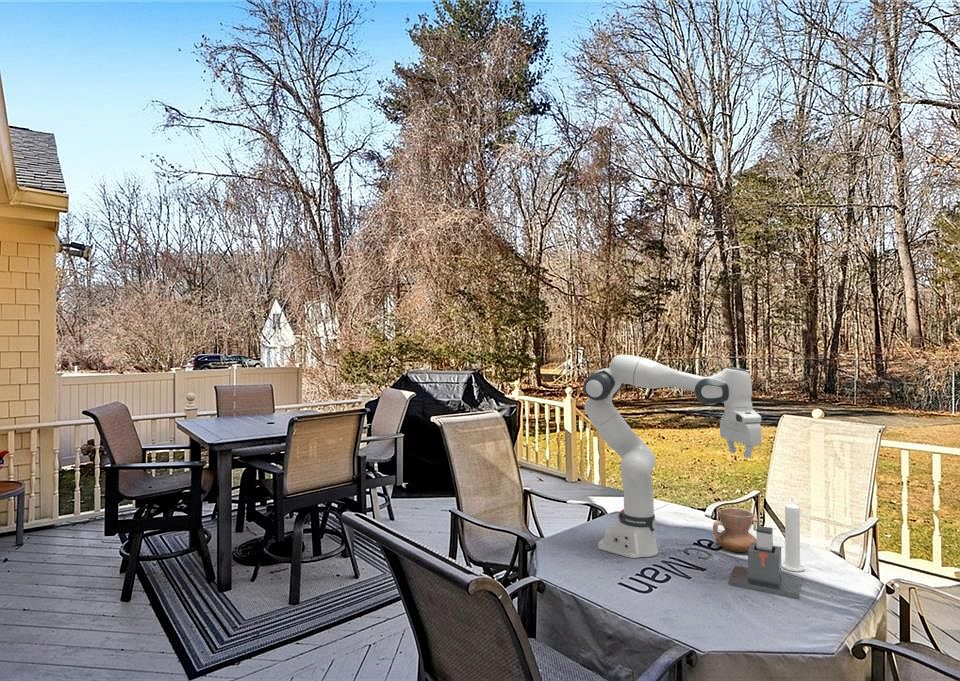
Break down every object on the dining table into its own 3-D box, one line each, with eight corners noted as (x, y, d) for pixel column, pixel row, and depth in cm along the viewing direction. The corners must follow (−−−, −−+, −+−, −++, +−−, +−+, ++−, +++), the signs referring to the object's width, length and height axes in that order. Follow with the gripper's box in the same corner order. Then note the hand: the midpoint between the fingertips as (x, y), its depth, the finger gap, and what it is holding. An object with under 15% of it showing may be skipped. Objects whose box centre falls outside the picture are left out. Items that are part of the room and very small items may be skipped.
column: (756, 578, 186) (755, 529, 186) (757, 573, 190) (757, 525, 190) (772, 581, 184) (772, 532, 184) (773, 576, 188) (773, 527, 188)
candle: (803, 566, 201) (802, 495, 201) (805, 573, 195) (804, 500, 195) (780, 562, 204) (780, 493, 204) (781, 570, 198) (781, 498, 198)
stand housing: (728, 584, 186) (728, 549, 186) (735, 569, 198) (734, 536, 198) (798, 598, 176) (798, 561, 176) (800, 582, 188) (800, 547, 188)
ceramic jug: (746, 541, 227) (745, 505, 227) (769, 554, 212) (767, 515, 212) (703, 544, 225) (702, 508, 225) (723, 557, 210) (722, 518, 210)
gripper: (714, 411, 205) (715, 449, 205) (746, 418, 184) (747, 461, 184) (731, 410, 205) (732, 449, 205) (764, 417, 185) (766, 460, 185)
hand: (739, 454), depth 195 cm, fingers open, 8 cm apart
